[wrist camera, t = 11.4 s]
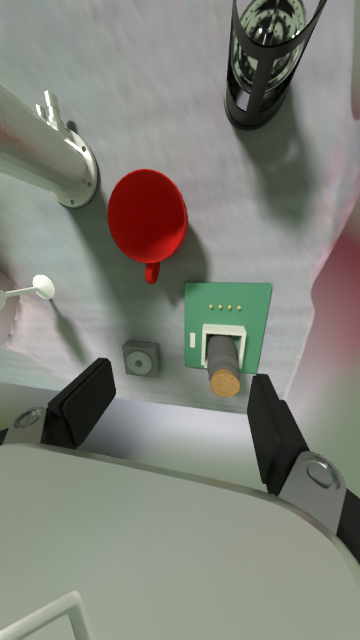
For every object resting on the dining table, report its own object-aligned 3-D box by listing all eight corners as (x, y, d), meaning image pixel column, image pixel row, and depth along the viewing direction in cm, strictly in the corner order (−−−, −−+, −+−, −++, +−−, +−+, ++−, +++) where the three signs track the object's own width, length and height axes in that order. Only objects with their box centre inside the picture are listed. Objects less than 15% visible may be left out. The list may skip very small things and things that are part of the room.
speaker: (127, 340, 48) (120, 347, 44) (158, 343, 46) (153, 350, 42) (131, 367, 51) (125, 375, 47) (160, 370, 49) (155, 379, 46)
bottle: (238, 341, 40) (252, 387, 26) (220, 356, 42) (224, 406, 29) (220, 326, 39) (224, 364, 26) (203, 341, 42) (198, 385, 28)
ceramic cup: (135, 276, 41) (112, 283, 31) (132, 191, 34) (102, 168, 25) (189, 281, 39) (181, 290, 29) (196, 192, 32) (189, 167, 23)
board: (185, 281, 39) (181, 286, 33) (270, 283, 36) (280, 288, 30) (185, 363, 47) (181, 377, 41) (254, 369, 44) (261, 386, 38)
